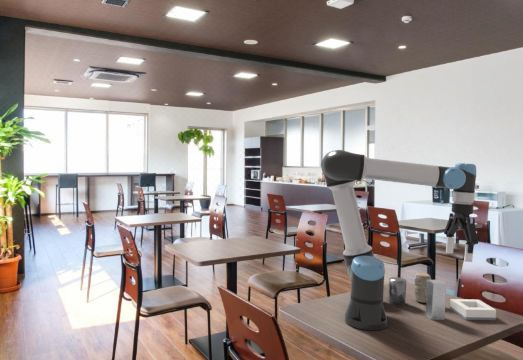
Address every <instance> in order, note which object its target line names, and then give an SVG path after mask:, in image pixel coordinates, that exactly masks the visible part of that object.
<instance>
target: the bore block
mask: <svg viewBox="0 0 523 360" xmlns="http://www.w3.org/2000/svg"><path fill="white" fill-rule="evenodd" d="M449 309H450V310H451V311H453V312H454V313H455V314H456V315H458V316H459V317H461V318H462V319H464V320H465V321H496V320H497V309H495V308H493V307H492V306H490V305H489V304H487V303H485V302H484V301H482V300H481V299H472V298H471V299H467V298H466V299H464V298H450V299H449Z"/></svg>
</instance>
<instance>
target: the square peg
mask: <svg viewBox="0 0 523 360" xmlns="http://www.w3.org/2000/svg"><path fill="white" fill-rule="evenodd" d="M446 296H447V283H446V282H445V281H443V280H442V279H431V280H428V281H427V300H426V303H425V304H426V305H425V316H427V317H428V319H430V320H431V321H445V318H446V317H445V313H446V312H445V311H446V299H447V297H446Z"/></svg>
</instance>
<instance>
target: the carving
mask: <svg viewBox="0 0 523 360" xmlns="http://www.w3.org/2000/svg"><path fill="white" fill-rule="evenodd" d="M428 280H432V277H431V275H430V274H428V273H426V272H417V273H416V274H415V275H414V284H413V288H414V289H413V290H414V292H413V293H414V298H415V299H414V300H415V301H416V302H418V303H424V304H426V300H427V281H428Z"/></svg>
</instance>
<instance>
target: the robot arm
mask: <svg viewBox="0 0 523 360" xmlns="http://www.w3.org/2000/svg"><path fill="white" fill-rule="evenodd" d="M320 168H321V172H322V174H323V176H324V179H325V185H326V188H327V189H330V191H331V192H332V196H333V202H334V206H335V211H336V214H337V218H338V219H337V220H338V222H339V227H340V229H341V234H342V239H343V243H344V247H345V249H344V250H343V252H342V256H343V258H344V259H343V260H344V267H345V272H346V274H347V275H348V277H349V279H350V298H349V303H348V304H347V308H346V311H345V313H344V321H345V323H346V324H347V325H348V326H350V327H354V328H356V329H358V330H359V329H360V330H363V331H379V330H384V329H386V327H387V326H388V318H387V314H386V311H385V306H384V292H385V291H384V290H385V274H386V267H385V263H384V261H383V260H382V259H380V258H377V257H376V256H375V255H374V250H373V247H372V246H371V245H369V244H368V243H367V238H366V233H365V230H364V226H363V222H362V218H361V213H360V209H359V205H358V201H357V196H356V193H355V188H354V185H355V183H356V182H357V181H358V182H362V181H363V180H372V181H373V180H374V181H383V182H390V183H391V182H392V183H400V184H410V185H419V186H426V187H427V186H428V187H436V188H441V189H442V188H443V189H450V190H452V198H451V200H452V203H451V213H449V215H448V220H447V223H446V225H445V228H444V231H443V233H444V235H445V236H446V244H445V245H446V246H445V253H446V254H454V247H455V234H457V232H458V230H459V228H460V229H461V230H462V232H463V235H464V237H465V241H466V242H465V244H464V245H465V246H464V258H463V260H464V262H465V263H467V262H468V263H472V262H473V257H474V256H473V254H474V247H475V245H478V244H479V240H478V234H477V231H476V230H477V229H476V219H475V218H474V217H470V216H471V215H473V214H474V202H475V190H476V179H477V165H476V164H475V163H465V162H464V163H463V162H462V163H461V162H459V163H458V162H457V163H455V165H454V167H453V166H451V167H449V166H441V165H440V166H439V165H432V164H423V163H415V162H405V161H397V160H388V159H387V160H386V159H378V158H369V157H366V155H365V154H360V153H354V152H350V151H347V150H344V149H343V150H342V149H337V150H331V151H329V152H327V153H326V154H325V155H324V156H323V158H322V161H321V163H320Z"/></svg>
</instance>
